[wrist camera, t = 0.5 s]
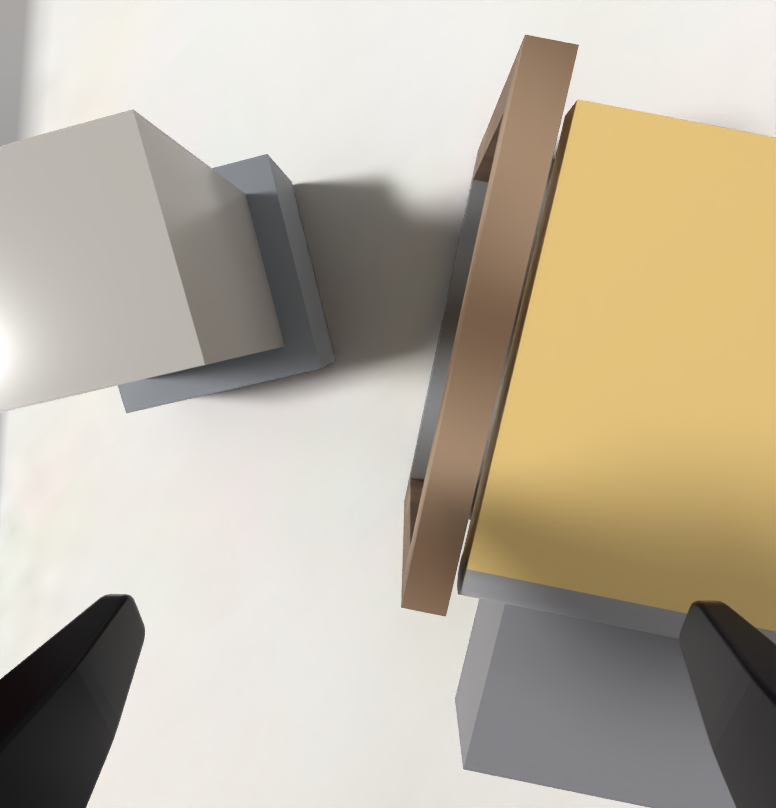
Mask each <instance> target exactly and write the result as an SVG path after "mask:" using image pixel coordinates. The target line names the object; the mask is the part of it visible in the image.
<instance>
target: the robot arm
mask: <svg viewBox="0 0 776 808" xmlns="http://www.w3.org/2000/svg"><path fill="white" fill-rule="evenodd" d="M144 637H145V627H144V623H143V621H142V618H141V616H140V613H139V611H138V608H137V606H136V603H135V601H134V599H133V597H131V596H130V595H127V594H109V595H105V596H103V597H101V598H100V599H98V600H97V601H96V602H95V603H93V604H92V605H91V606H90V607H88V608H87V609H86V610H85V611H84V612H82V613H81V614H80V615H79V616H77V617H76V618H75V619H74V620H73V621H71V622H70V623H69V624H68V625H66V626H65V627H64V628H63V629H61V630H60V631H59V632H58V633H57V634H55V635H54V636H53V637H52V638H50V639H49V640H48V641H47V642H46V643H44V644H43V645H42V646H41V647H39V648H38V649H37V650H36V651H34V652H33V653H32V654H31V655H30V656H28V657H27V658H26V659H25V660H23V661H22V662H21V663H20V664H19V665H17V666H16V667H15V668H14V669H12V670H11V671H10V672H9V673H7V674H6V675H5V676H4V677H3V678H1V679H0V808H86V806H87V804H88V801H89V799H90V797H91V794H92V792H93V789H94V787H95V784H96V782H97V779H98V777H99V775H100V772H101V770H102V767H103V765H104V762H105V760H106V758H107V755H108V753H109V750H110V747H111V745H112V742H113V740H114V737H115V734H116V731H117V728H118V725H119V722H120V718H121V715H122V712H123V708H124V705H125V702H126V699H127V695H128V692H129V689H130V685H131V682H132V679H133V675H134V672H135V669H136V665H137V662H138V659H139V656H140V652H141V649H142V646H143V642H144ZM679 643H680V648H681V652H682V655H683V658H684V661H685V665H686V668H687V671H688V674H689V678H690V681H691V684H692V687H693V691H694V694H695V697H696V700H697V703H698V707H699V710H700V713H701V716H702V720H703V723H704V726H705V729H706V733H707V736H708V739H709V742H710V744H711V747H712V750H713V753H714V756H715V758H716V761H717V763H718V766H719V768H720V771H721V773H722V775H723V778H724V780H725V783H726V785H727V787H728V790H729V792H730V795H731V797H732V799H733V802H734V804H735V806H736V808H776V644H775V643H774V642H773V641H771V640H770V639H769V638H768V637H767V636H765V635H764V634H763V633H762V632H760V631H759V630H758V629H757V628H755V627H754V626H753V625H752V624H750V623H749V622H748V621H747V620H746V619H744V618H743V617H742V616H741V615H739V614H738V613H737V612H736V611H734V610H733V609H732V608H731V607H729V606H728V605H727V604H725V603H723V602H721V601H712V600H698V601H694V602H693V603H692V604H691V606H690V608H689V611H688V613H687V616H686V618H685V621H684V623H683V626H682V629H681V631H680V636H679Z"/></svg>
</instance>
